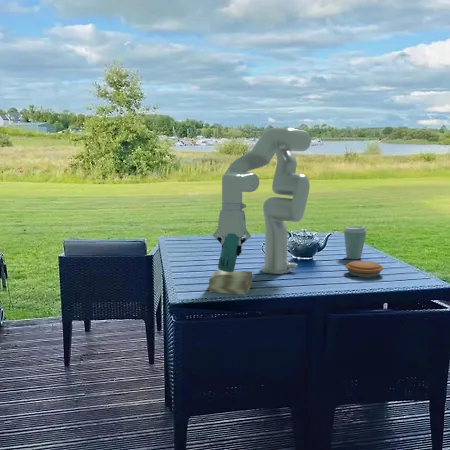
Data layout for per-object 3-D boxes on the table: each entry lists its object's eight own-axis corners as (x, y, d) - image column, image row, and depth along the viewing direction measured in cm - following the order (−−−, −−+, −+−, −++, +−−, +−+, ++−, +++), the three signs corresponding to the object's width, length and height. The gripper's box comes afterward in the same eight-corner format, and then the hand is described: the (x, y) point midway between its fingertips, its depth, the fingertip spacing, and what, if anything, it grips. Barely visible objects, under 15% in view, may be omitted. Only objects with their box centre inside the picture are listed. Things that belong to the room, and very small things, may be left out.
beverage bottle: (232, 273, 214) (243, 223, 212) (233, 277, 208) (245, 225, 205) (215, 270, 214) (226, 219, 211) (216, 274, 207) (228, 222, 205)
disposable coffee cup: (341, 259, 260) (343, 227, 258) (342, 254, 271) (344, 224, 268) (365, 260, 258) (366, 229, 255) (365, 255, 268) (366, 225, 266)
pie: (387, 273, 236) (387, 261, 236) (376, 281, 223) (377, 269, 222) (351, 268, 244) (352, 257, 243) (339, 276, 231) (340, 264, 230)
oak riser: (251, 284, 218) (252, 271, 217) (246, 294, 204) (246, 281, 203) (216, 282, 220) (216, 269, 219) (209, 292, 207) (209, 279, 206)
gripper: (255, 206, 209) (255, 253, 212) (211, 205, 212) (211, 251, 215) (253, 209, 202) (252, 258, 205) (207, 207, 205) (207, 256, 208)
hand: (231, 254), depth 210 cm, fingers closed on beverage bottle, 4 cm apart
